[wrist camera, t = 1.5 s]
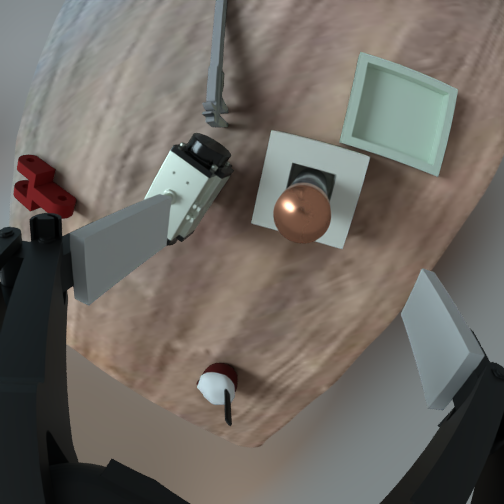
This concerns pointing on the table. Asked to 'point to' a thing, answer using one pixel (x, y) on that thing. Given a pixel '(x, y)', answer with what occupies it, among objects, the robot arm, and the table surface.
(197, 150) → the pneumatic valve
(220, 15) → the caliper
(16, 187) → the mechanical linkage
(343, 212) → the block
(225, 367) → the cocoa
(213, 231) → the table surface
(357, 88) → the tray
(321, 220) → the pin
